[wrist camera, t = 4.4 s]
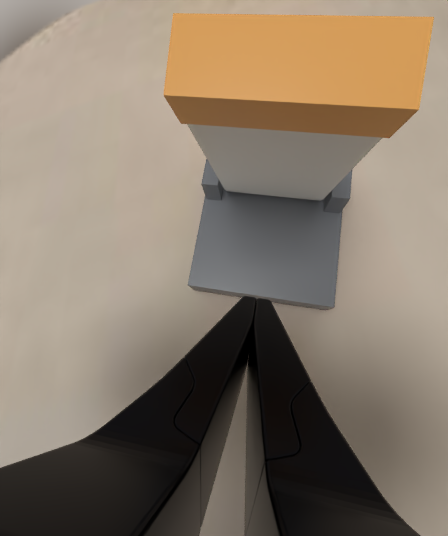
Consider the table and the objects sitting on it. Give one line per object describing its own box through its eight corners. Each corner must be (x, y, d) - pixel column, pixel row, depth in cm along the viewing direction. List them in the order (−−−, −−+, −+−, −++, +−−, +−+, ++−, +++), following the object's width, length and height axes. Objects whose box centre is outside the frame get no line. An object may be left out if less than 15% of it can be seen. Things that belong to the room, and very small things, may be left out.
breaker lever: (318, 207, 18) (418, 109, 6) (226, 197, 19) (163, 95, 7) (323, 176, 18) (434, 17, 6) (230, 168, 19) (173, 13, 7)
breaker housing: (325, 310, 19) (344, 303, 15) (194, 289, 20) (179, 278, 16) (338, 174, 21) (357, 137, 17) (218, 163, 22) (210, 127, 18)
